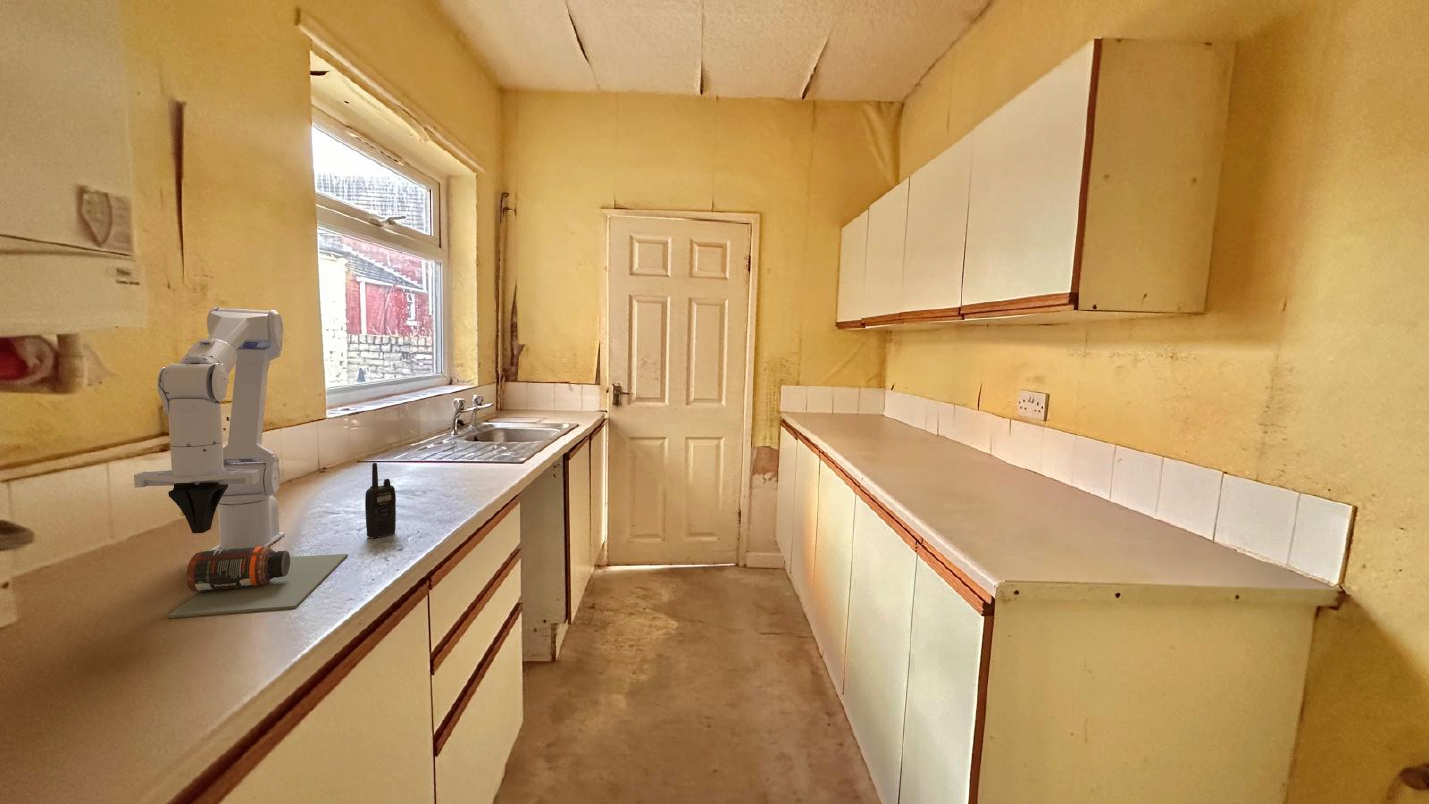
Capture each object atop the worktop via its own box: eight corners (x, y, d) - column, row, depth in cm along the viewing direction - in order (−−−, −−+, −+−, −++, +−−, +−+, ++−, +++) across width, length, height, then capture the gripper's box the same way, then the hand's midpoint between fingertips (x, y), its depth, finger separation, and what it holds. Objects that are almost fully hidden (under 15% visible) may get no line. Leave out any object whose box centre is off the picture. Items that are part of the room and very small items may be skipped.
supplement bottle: (186, 600, 79) (281, 590, 84) (181, 563, 78) (278, 555, 82) (205, 580, 85) (294, 571, 89) (201, 544, 84) (291, 537, 88)
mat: (248, 561, 94) (248, 559, 94) (347, 555, 98) (347, 553, 98) (167, 618, 75) (167, 615, 75) (295, 608, 79) (295, 605, 79)
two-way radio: (370, 540, 105) (369, 465, 104) (359, 536, 108) (357, 461, 106) (399, 533, 110) (398, 460, 109) (388, 528, 112) (386, 457, 111)
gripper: (115, 449, 76) (121, 543, 77) (239, 448, 80) (243, 537, 81) (151, 440, 83) (157, 526, 84) (264, 439, 87) (268, 522, 88)
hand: (201, 531), depth 83 cm, fingers closed
